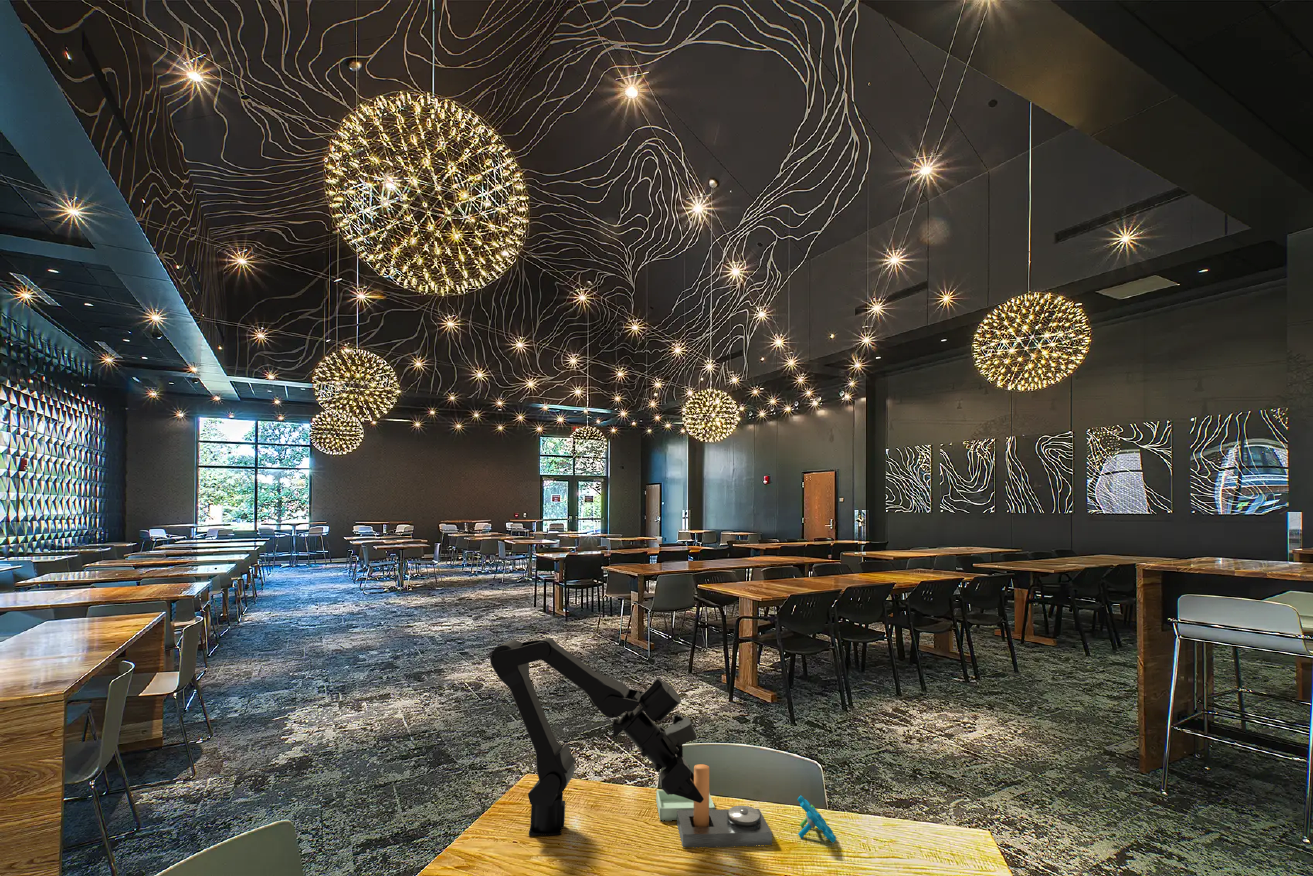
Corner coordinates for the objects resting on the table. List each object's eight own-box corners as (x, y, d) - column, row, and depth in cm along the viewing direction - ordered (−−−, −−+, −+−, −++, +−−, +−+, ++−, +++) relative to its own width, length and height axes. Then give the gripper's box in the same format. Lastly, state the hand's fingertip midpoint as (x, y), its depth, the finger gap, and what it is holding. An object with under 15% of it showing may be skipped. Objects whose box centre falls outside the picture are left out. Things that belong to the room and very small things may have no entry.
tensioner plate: (682, 848, 117) (683, 822, 118) (676, 823, 127) (676, 799, 128) (771, 845, 119) (771, 820, 120) (759, 821, 129) (758, 798, 129)
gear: (841, 845, 117) (803, 801, 120) (820, 867, 116) (782, 822, 119) (834, 826, 127) (800, 786, 130) (815, 846, 127) (780, 805, 130)
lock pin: (694, 838, 121) (695, 770, 123) (692, 830, 124) (693, 764, 126) (710, 838, 121) (710, 770, 123) (707, 830, 124) (707, 764, 126)
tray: (659, 821, 128) (660, 808, 128) (656, 801, 137) (656, 790, 137) (714, 819, 129) (714, 807, 129) (707, 800, 138) (707, 789, 138)
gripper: (679, 720, 117) (735, 779, 116) (668, 694, 135) (717, 744, 134) (638, 764, 115) (694, 824, 114) (633, 731, 133) (682, 783, 132)
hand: (698, 790), depth 124 cm, fingers open, 9 cm apart
